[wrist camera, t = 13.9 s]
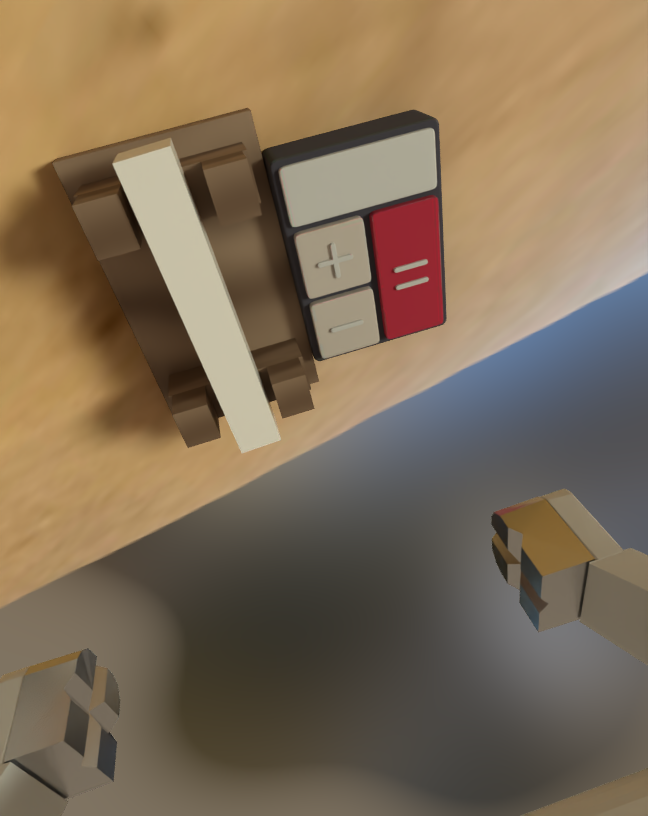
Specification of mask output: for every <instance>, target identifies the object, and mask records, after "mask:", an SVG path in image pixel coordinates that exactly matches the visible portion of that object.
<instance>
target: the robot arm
mask: <svg viewBox="0 0 648 816" xmlns="http://www.w3.org/2000/svg"><path fill="white" fill-rule="evenodd" d="M491 525H492V526H493V528H494V530H495V531H496V534H495V535H494V537H493V538H492V551H493V554H494V557H495V560H496V563H497V565H498V567H499V570H500V572H501V574H502V575H503V577H504V579H505V580H506V582H507V583H508V584H509V585H511V586H513V587H515V588H517V589H519V590H520V604H521V606H522V608H523V609H524V611H525V612H526V614H527V615H528V617H529V619H530V620H531V622H532V623H533V625H534V627H535V628H536V630H537V631H538V632H541V631H544V630H547V629H550V628H553V627H557V626H560V625H563V624H566V623H569V622H572V621H576V620H579V619H580V622H581V623H583V624H584V625H586V626H588V627H589V628H590V629H592V630H594V631H595V632H597V633H598V634H600V635H601V636H603V637H604V638H606V639H608V640H609V641H611V642H612V643H614V644H615V645H617V646H618V647H620V648H622V649H623V650H625V651H626V652H628V653H629V654H631V655H632V656H634V657H635V658H637V659H638V660H640V661H642V662H643V663H645V664H646V665H648V555H646V554H643V553H641V552H639V551H636V550H634V549H631V548H630V549H626V550H623V549H622V548H621V547H620V546H619V545H618V544H617V543H616V542H615V540H614V539H613V538H612V537H611V536H610V535H609V534H608V533H607V532H606V530H605V529H603V527H602V526H601V525H600V524H599V523H598V522H597V521H596V519H595V518H594V517H593V516H592V515H591V514H590V513H589V512H588V511H587V510H586V508H585V507H584V506H582V504H581V503H580V502H579V501H578V500H577V498H576V497H575V496H574V495H573V494H572V493H571V492H570V491H568V490H566V489H561V490H558V491H555V492H552V493H550V494H547V495H544V496H541V497H536V498H533V499H530V500H527V501H524V502H521V503H518V504H516V505H513V506H510V507H507V508H504V509H501V510H499V511H496V512H494V513H493V514H492V516H491ZM96 660H97V656H96V655H95V654H94V653H93V652H92V651H91V650H89V649H88V648H87V649H84V650H81V651H78V652H74V653H71V654H68V655H65V656H62V657H58V658H55V659H52V660H49V661H46V662H42V663H39V664H36V665H32V666H29V667H26V668H23V669H20V670H17V671H14V672H11V673H8V674H5V675H3V676H2V677H1V679H0V816H61V815H62V814H63V812H64V810H65V808H66V806H67V804H68V801H67V799H69V798H72V797H74V796H77V795H80V794H82V793H85V792H88V791H90V790H93V789H96V788H98V787H101V786H103V785H106V784H109V783H111V782H114V771H115V760H116V748H117V741H116V740H115V739H114V737H113V736H112V734H111V733H110V731H111V730H112V728H113V726H114V725H115V723H116V721H117V720H118V718H119V712H120V696H119V689H118V684H117V682H116V680H115V677H114V675H113V674H112V673H111V672H110V670H109V669H108V668H104V667H100V666H96ZM522 816H648V768H646V769H644V770H641V771H638V772H636V773H633V774H630V775H628V776H625V777H622V778H620V779H617V780H615V781H612V782H609V783H606V784H604V785H601V786H598V787H596V788H593V789H590V790H588V791H585V792H582V793H580V794H578V795H574V796H572V797H569V798H566V799H564V800H561V801H559V802H556V803H553V804H550V805H548V806H545V807H543V808H540V809H538V810H535V811H532V812H529V813H527V814H524V815H522Z"/></svg>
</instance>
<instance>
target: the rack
mask: <svg viewBox="0 0 648 816" xmlns="http://www.w3.org/2000/svg"><path fill="white" fill-rule="evenodd" d="M168 138H171V140H172V142H173V145H174V148H175V150H176V153H177V156H178V158H179V161H180V164H181V166H182V169H183V172H184V174H185V177H186V180H187V182H188V185H189V188H190V191H191V193H192V196H193V199H194V201H195V204H196V207H197V209H198V212H199V215H200V217H201V220H202V223H203V225H204V228H205V231H206V233H207V236H208V239H209V241H210V244H211V247H212V249H213V252H214V255H215V257H216V260H217V263H218V266H219V268H220V271H221V274H222V276H223V279H224V282H225V284H226V287H227V290H228V292H229V295H230V298H231V300H232V303H233V306H234V308H235V311H236V314H237V316H238V319H239V322H240V324H241V327H242V330H243V332H244V335H245V338H246V341H247V343H248V346H249V349H250V351H251V354H252V357H253V359H254V362H255V365H256V367H257V370H258V373H259V375H260V378H261V381H262V383H263V386H264V389H265V391H266V394H267V397H268V399H269V402H271V401H275V400H277V403H278V406H279V409H280V412H281V416H282V419H283V418H286V417H289V416H292V415H296V414H299V413H302V412H305V411H309V410H312V409H314V406H313V402H312V398H311V394H310V391H309V390H311V387H310V384H312V383H315V382H318V381H319V379H318V375H317V372H316V368H315V364H314V360H313V356H312V352H311V348H310V344H309V340H308V336H307V332H306V328H305V324H304V320H303V316H302V312H301V308H300V304H299V300H298V296H297V292H296V288H295V284H294V280H293V277H292V273H291V269H290V265H289V261H288V257H287V253H286V249H285V245H284V241H283V237H282V233H281V229H280V225H279V221H278V217H277V213H276V209H275V205H274V201H273V197H272V193H271V189H270V186H269V182H268V178H267V174H266V170H265V166H264V162H263V158H262V154H261V150H260V146H259V142H258V138H257V134H256V130H255V126H254V122H253V118H252V114H251V110H250V109H248V108H245V109H242V110H238V111H234V112H230V113H227V114H223V115H219V116H215V117H212V118H208V119H204V120H200V121H197V122H193V123H189V124H185V125H182V126H178V127H174V128H170V129H166V130H163V131H159V132H155V133H151V134H148V135H144V136H140V137H136V138H133V139H129V140H125V141H121V142H118V143H114V144H110V145H106V146H103V147H99V148H95V149H91V150H88V151H84V152H80V153H76V154H72V155H69V156H65V157H61V158H57V159H56V160H55V161H54V162H53V163H52V164H53V166H54V168H55V170H56V172H57V175H58V177H59V179H60V181H61V183H62V185H63V187H64V189H65V191H66V193H67V195H68V197H69V200H70V202H71V204H72V208H73V210H74V212H75V214H76V216H77V218H78V220H79V222H80V224H81V227H82V229H83V231H84V233H85V235H86V237H87V239H88V241H89V243H90V245H91V247H92V249H93V252H94V254H95V256H96V258H97V260H98V261H99V262H100V264H101V266H102V268H103V270H104V273H105V275H106V277H107V279H108V281H109V283H110V285H111V287H112V289H113V291H114V293H115V295H116V298H117V300H118V302H119V304H120V306H121V308H122V310H123V312H124V314H125V316H126V318H127V320H128V323H129V325H130V327H131V329H132V331H133V333H134V335H135V337H136V339H137V341H138V343H139V346H140V348H141V350H142V352H143V354H144V356H145V358H146V360H147V362H148V364H149V366H150V368H151V371H152V373H153V375H154V377H155V379H156V381H157V383H158V385H159V387H160V389H161V391H162V393H163V396H164V398H165V400H166V402H167V404H168V406H169V408H170V410H171V412H172V416H173V418H174V420H175V422H176V424H177V426H178V428H179V430H180V433H181V435H182V437H183V439H184V441H185V443H186V445H187V447H188V448H189V447H192V446H195V445H199V444H202V443H205V442H208V441H212V440H215V439H218V438H221V437H220V429H219V420H218V418H219V417H222V416H225V415H224V412H223V410H222V408H221V406H220V403H219V401H218V399H217V397H216V394H215V392H214V390H213V388H212V386H211V383H210V381H209V379H208V377H207V374H206V372H205V370H204V368H203V365H202V363H201V361H200V359H199V356H198V354H197V352H196V350H195V348H194V345H193V343H192V341H191V339H190V336H189V334H188V332H187V330H186V327H185V325H184V323H183V321H182V318H181V316H180V314H179V312H178V310H177V307H176V305H175V303H174V301H173V298H172V296H171V294H170V292H169V289H168V287H167V285H166V283H165V280H164V278H163V276H162V274H161V271H160V269H159V267H158V265H157V263H156V260H155V258H154V256H153V254H152V251H151V249H150V247H149V245H148V242H147V240H146V238H145V236H144V233H143V231H142V229H141V227H140V225H139V222H138V220H137V218H136V216H135V213H134V211H133V209H132V207H131V204H130V202H129V200H128V198H127V195H126V193H125V191H124V189H123V187H122V184H121V182H120V180H119V178H118V175H117V173H116V171H115V169H114V166H113V164H112V163H113V161H114V160H115V158H116V156H117V154H118V153H122V152H125V151H128V150H132V149H135V148H138V147H141V146H145V145H148V144H151V143H155V142H158V141H161V140H164V139H168Z"/></svg>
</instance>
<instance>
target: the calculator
mask: <svg viewBox="0 0 648 816" xmlns="http://www.w3.org/2000/svg"><path fill="white" fill-rule="evenodd" d="M262 158H263V162H264V166H265V170H266V174H267V178H268V182H269V186H270V189H271V193H272V197H273V201H274V205H275V209H276V213H277V217H278V221H279V225H280V229H281V233H282V237H283V241H284V245H285V249H286V253H287V257H288V261H289V265H290V269H291V273H292V277H293V280H294V284H295V288H296V292H297V296H298V300H299V304H300V308H301V312H302V316H303V320H304V324H305V328H306V332H307V336H308V340H309V344H310V348H311V351H312V354H313V356H314V358H315V359H316V360H317V361H322V360H325V359H329V358H332V357H336V356H339V355H342V354H346V353H349V352H352V351H356V350H359V349H363V348H366V347H369V346H373V345H376V344H379V343H383V342H386V341H390V340H393V339H396V338H400V337H403V336H406V335H410V334H413V333H417V332H420V331H423V330H427V329H430V328H433V327H437V326H440V325H443V324H444V323H445V322H446V294H445V268H444V242H443V217H442V191H441V165H440V140H439V123H438V120H437V119H436V118H434V117H431V116H429V115H427V114H424V113H422V112H419V111H417V110H410V111H406V112H402V113H398V114H395V115H391V116H387V117H383V118H379V119H376V120H372V121H368V122H364V123H360V124H357V125H353V126H349V127H345V128H342V129H338V130H334V131H330V132H326V133H323V134H319V135H315V136H311V137H308V138H304V139H300V140H296V141H292V142H289V143H285V144H281V145H277V146H274V147H270V148H267V149H265V150H264V151H263V153H262Z"/></svg>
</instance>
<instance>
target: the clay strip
mask: <svg viewBox="0 0 648 816" xmlns="http://www.w3.org/2000/svg"><path fill="white" fill-rule="evenodd" d="M112 164H113V166H114V169H115V171H116V173H117V175H118V178H119V180H120V182H121V184H122V187H123V189H124V191H125V193H126V195H127V198H128V200H129V202H130V204H131V207H132V209H133V211H134V213H135V216H136V218H137V220H138V222H139V225H140V227H141V229H142V231H143V233H144V236H145V238H146V240H147V242H148V245H149V247H150V249H151V251H152V254H153V256H154V258H155V260H156V263H157V265H158V267H159V269H160V271H161V274H162V276H163V278H164V280H165V283H166V285H167V287H168V289H169V292H170V294H171V296H172V298H173V301H174V303H175V305H176V307H177V310H178V312H179V314H180V316H181V318H182V321H183V323H184V325H185V327H186V330H187V332H188V334H189V336H190V339H191V341H192V343H193V345H194V348H195V350H196V352H197V354H198V356H199V359H200V361H201V363H202V365H203V368H204V370H205V372H206V374H207V377H208V379H209V381H210V383H211V386H212V388H213V390H214V392H215V394H216V397H217V399H218V401H219V403H220V406H221V408H222V410H223V412H224V415H225V417H226V419H227V421H228V424H229V426H230V428H231V430H232V432H233V435H234V437H235V439H236V441H237V444H238V446H239V448H240V450H241V453H244V452H247V451H250V450H253V449H256V448H259V447H262V446H265V445H268V444H271V443H274V442H277V441H280V440H281V437H280V434H279V430H278V426H277V422H276V419H275V415H274V413H273V410H272V407H271V405H270V402H269V399H268V397H267V394H266V391H265V389H264V386H263V383H262V381H261V378H260V375H259V373H258V370H257V367H256V365H255V362H254V359H253V357H252V354H251V351H250V349H249V346H248V343H247V341H246V338H245V335H244V332H243V330H242V327H241V324H240V322H239V319H238V316H237V314H236V311H235V308H234V306H233V303H232V300H231V298H230V295H229V292H228V290H227V287H226V284H225V282H224V279H223V276H222V274H221V271H220V268H219V266H218V263H217V260H216V257H215V255H214V252H213V249H212V247H211V244H210V241H209V239H208V236H207V233H206V231H205V228H204V225H203V223H202V220H201V217H200V215H199V212H198V209H197V207H196V204H195V201H194V199H193V196H192V193H191V191H190V188H189V185H188V182H187V180H186V177H185V174H184V172H183V169H182V166H181V164H180V161H179V158H178V156H177V153H176V150H175V148H174V145H173V142H172V140H171V138H168V139H164V140H161V141H158V142H155V143H151V144H148V145H145V146H141V147H138V148H135V149H132V150H128V151H125V152H122V153H118V154H117V156H116V158H115V160H114V161H113V163H112Z"/></svg>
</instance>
